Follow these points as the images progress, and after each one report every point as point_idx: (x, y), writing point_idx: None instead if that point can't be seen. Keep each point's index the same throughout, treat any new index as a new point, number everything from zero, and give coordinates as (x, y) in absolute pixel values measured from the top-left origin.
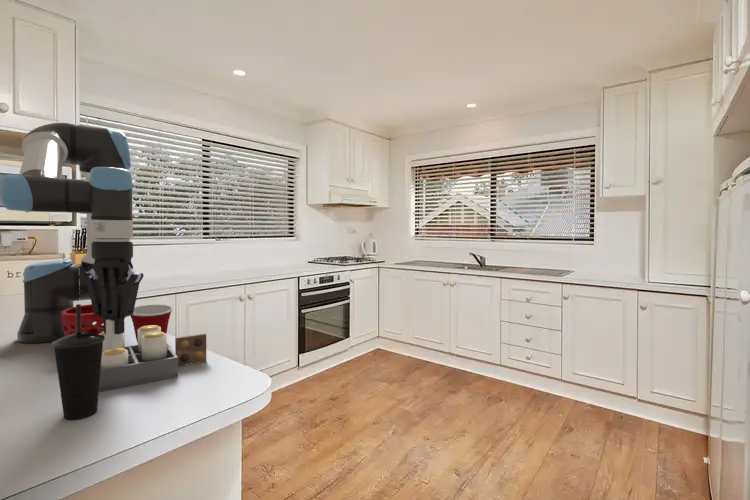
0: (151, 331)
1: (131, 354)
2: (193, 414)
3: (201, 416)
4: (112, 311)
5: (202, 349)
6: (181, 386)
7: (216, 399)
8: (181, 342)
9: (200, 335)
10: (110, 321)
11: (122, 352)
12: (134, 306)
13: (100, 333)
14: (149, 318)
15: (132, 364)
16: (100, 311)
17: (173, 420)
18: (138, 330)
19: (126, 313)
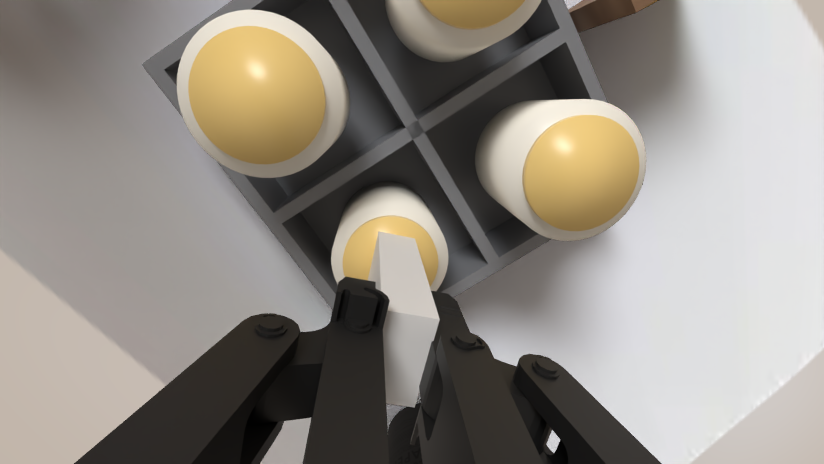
0: (511, 32)
1: (408, 132)
2: (692, 428)
3: (711, 436)
4: (424, 461)
5: None
6: (627, 261)
7: (739, 352)
8: (646, 6)
9: None
10: (400, 399)
11: (435, 271)
12: (614, 420)
13: (181, 103)
14: None
15: (482, 277)
16: (280, 419)
17: (653, 453)
18: (413, 15)
19: (548, 452)
